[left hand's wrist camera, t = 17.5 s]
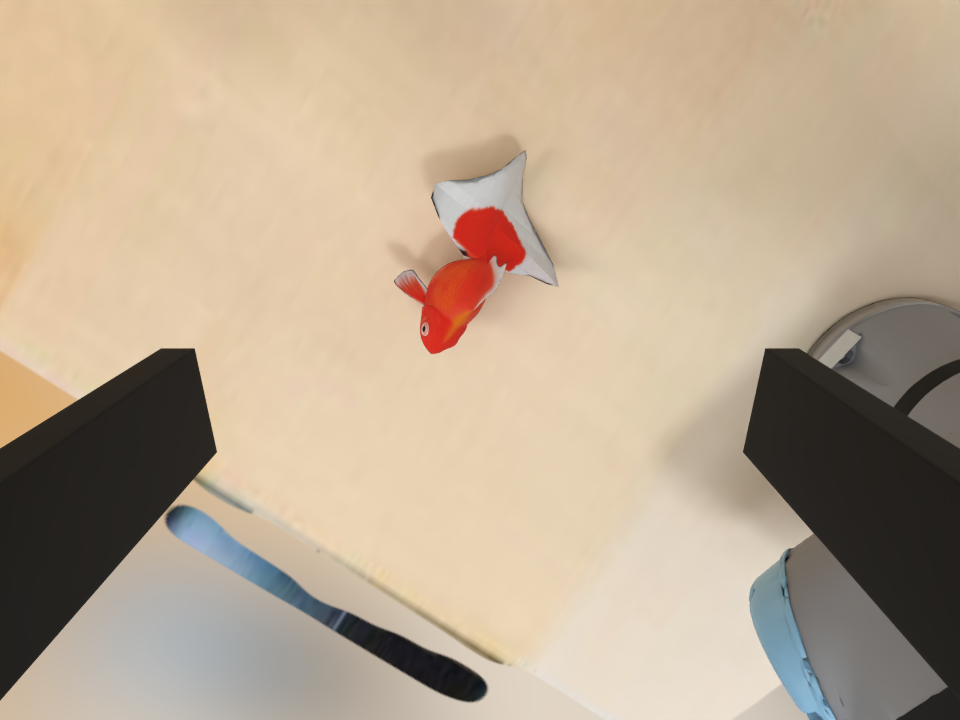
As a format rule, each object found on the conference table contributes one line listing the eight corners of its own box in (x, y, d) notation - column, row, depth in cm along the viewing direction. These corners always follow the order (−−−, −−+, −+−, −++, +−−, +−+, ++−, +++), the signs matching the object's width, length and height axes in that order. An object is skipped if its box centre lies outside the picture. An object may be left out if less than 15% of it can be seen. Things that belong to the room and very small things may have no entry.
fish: (330, 272, 39) (381, 294, 31) (460, 122, 41) (540, 106, 33) (424, 356, 45) (487, 393, 37) (533, 222, 47) (615, 228, 39)
